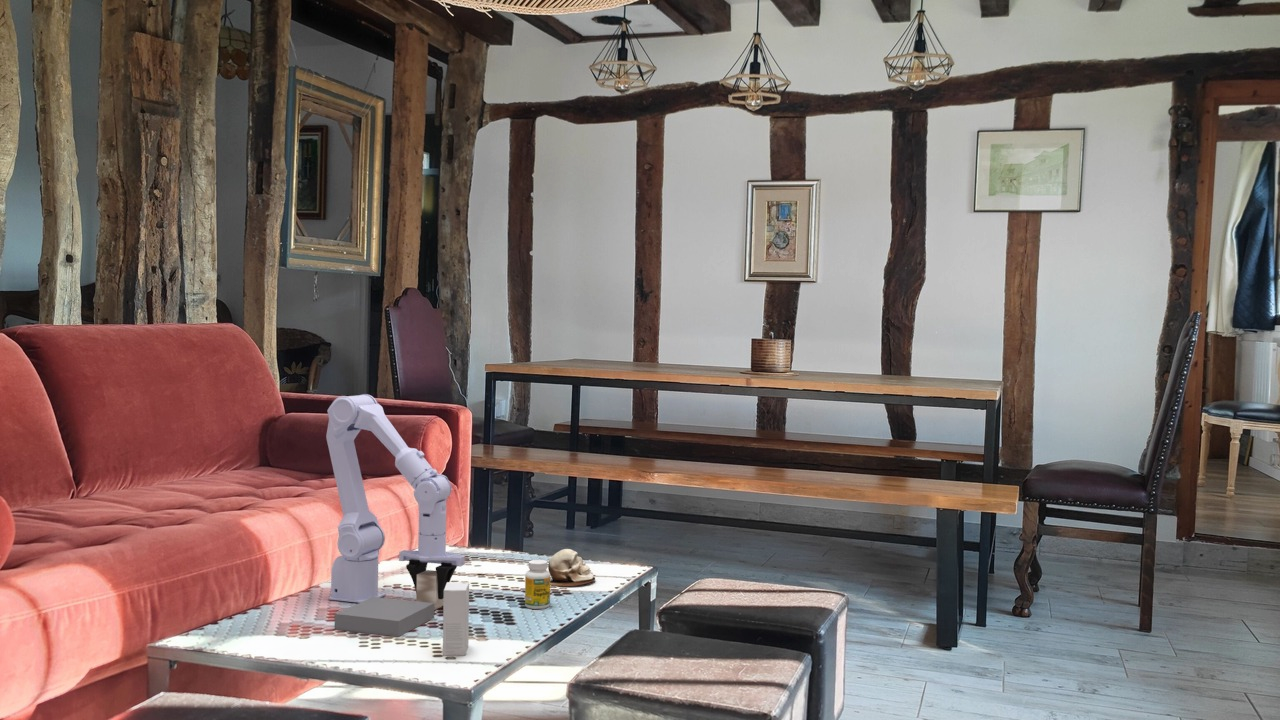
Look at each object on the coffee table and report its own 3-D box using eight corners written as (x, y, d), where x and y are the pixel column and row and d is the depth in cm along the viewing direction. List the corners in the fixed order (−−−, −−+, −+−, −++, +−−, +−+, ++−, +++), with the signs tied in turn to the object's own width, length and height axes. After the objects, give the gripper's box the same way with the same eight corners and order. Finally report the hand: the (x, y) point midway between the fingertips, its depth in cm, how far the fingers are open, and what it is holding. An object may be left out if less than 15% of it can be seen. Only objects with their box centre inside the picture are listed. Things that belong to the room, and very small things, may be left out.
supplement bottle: (542, 601, 223) (543, 557, 222) (554, 607, 218) (555, 562, 218) (520, 605, 220) (521, 560, 219) (531, 610, 215) (532, 565, 215)
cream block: (416, 607, 216) (416, 574, 216) (426, 602, 220) (427, 570, 220) (435, 609, 214) (436, 576, 214) (445, 604, 219) (446, 571, 219)
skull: (601, 572, 248) (596, 546, 241) (592, 608, 240) (587, 583, 233) (553, 567, 250) (547, 541, 243) (543, 603, 243) (536, 578, 236)
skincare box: (445, 645, 190) (446, 581, 190) (468, 645, 190) (469, 581, 190) (441, 656, 184) (443, 589, 183) (465, 656, 184) (467, 589, 184)
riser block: (334, 629, 199) (334, 613, 199) (373, 611, 212) (373, 596, 212) (398, 636, 195) (398, 621, 195) (434, 617, 208) (434, 603, 208)
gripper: (392, 533, 215) (390, 598, 215) (454, 539, 211) (453, 604, 211) (408, 528, 222) (407, 590, 222) (469, 533, 218) (468, 596, 218)
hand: (431, 596), depth 217 cm, fingers closed on cream block, 4 cm apart
